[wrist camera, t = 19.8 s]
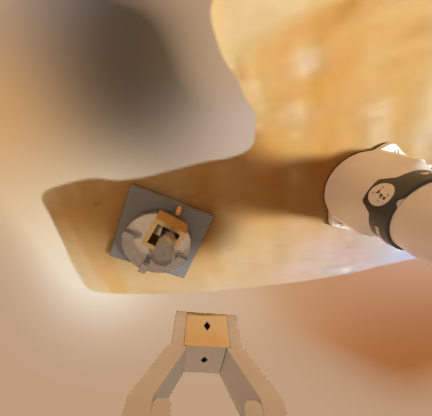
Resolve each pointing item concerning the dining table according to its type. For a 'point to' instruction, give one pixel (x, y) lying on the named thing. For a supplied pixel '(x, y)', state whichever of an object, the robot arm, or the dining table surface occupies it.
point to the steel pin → (164, 247)
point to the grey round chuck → (155, 239)
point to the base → (150, 200)
